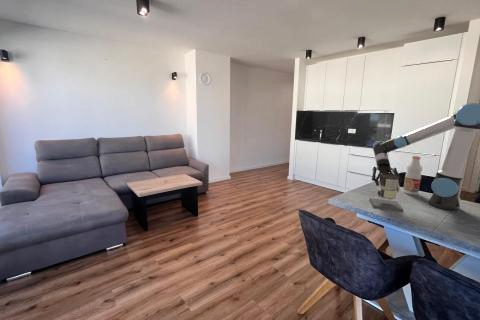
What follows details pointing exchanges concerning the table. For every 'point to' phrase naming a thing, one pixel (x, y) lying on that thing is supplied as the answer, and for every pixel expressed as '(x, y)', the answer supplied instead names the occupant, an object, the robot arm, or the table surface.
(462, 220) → the table surface
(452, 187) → the robot arm
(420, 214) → the table surface
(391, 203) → the mat
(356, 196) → the table surface
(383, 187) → the coffee can
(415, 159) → the fruit juice
